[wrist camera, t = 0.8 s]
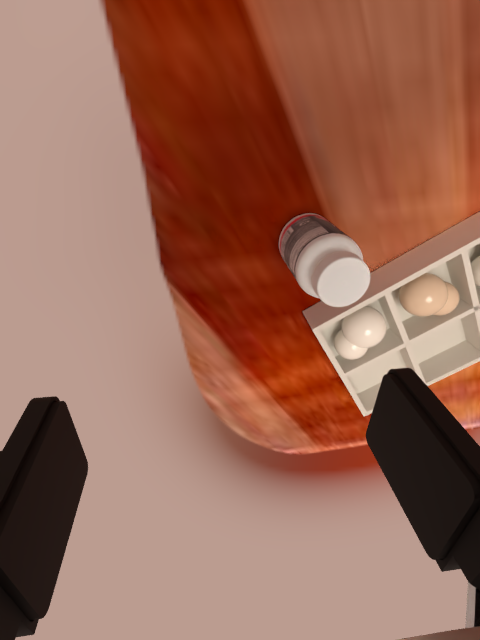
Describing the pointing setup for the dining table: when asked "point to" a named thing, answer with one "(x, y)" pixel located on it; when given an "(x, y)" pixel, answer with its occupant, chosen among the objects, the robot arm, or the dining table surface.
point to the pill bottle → (324, 260)
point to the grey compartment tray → (411, 317)
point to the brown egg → (428, 296)
